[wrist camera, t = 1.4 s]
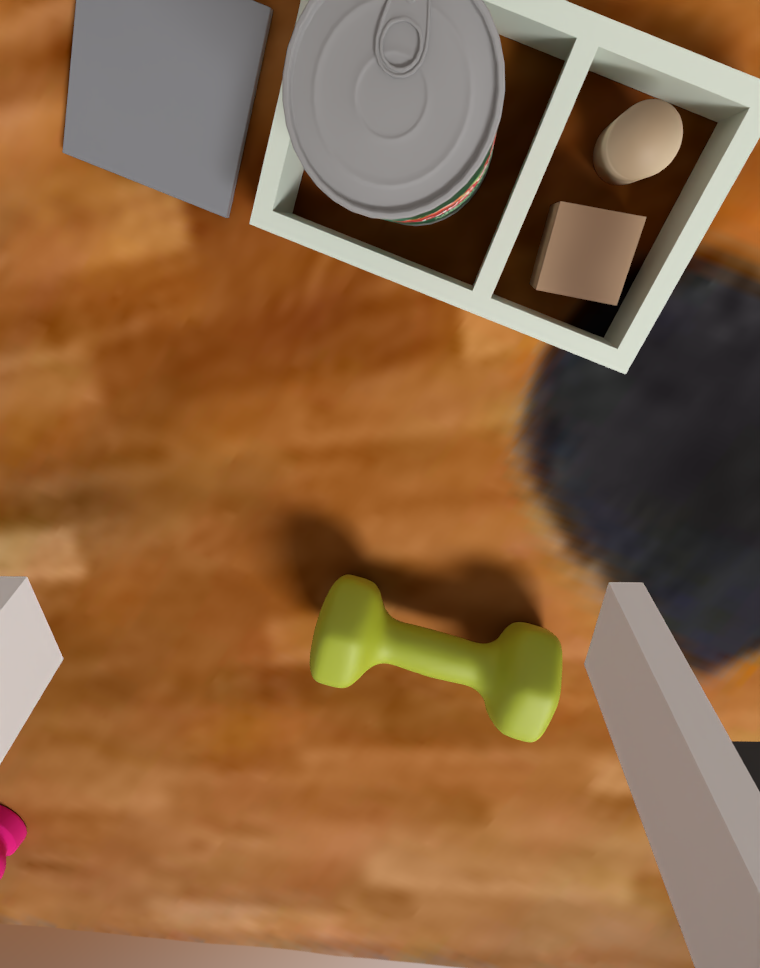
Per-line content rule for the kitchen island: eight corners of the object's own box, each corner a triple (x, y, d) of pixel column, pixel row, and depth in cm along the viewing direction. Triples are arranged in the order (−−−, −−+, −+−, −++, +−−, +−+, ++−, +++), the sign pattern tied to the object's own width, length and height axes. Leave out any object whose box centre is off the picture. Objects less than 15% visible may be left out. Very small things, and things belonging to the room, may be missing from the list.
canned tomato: (468, 241, 31) (465, 244, 21) (332, 206, 32) (266, 192, 22) (516, 71, 28) (539, -21, 18) (362, 33, 28) (301, -78, 18)
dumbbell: (321, 631, 44) (294, 700, 37) (340, 546, 40) (315, 605, 34) (527, 691, 43) (536, 772, 37) (565, 609, 40) (582, 682, 33)
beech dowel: (581, 172, 29) (597, 163, 25) (611, 107, 28) (632, 88, 24) (635, 194, 29) (659, 188, 25) (668, 130, 28) (697, 113, 24)
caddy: (271, 225, 32) (249, 223, 29) (341, -58, 27) (323, -97, 24) (610, 361, 32) (625, 374, 29) (749, 107, 27) (786, 89, 24)
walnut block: (529, 283, 32) (536, 289, 28) (550, 205, 30) (560, 201, 26) (600, 297, 31) (616, 305, 28) (625, 219, 30) (646, 217, 26)
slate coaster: (67, 153, 32) (62, 152, 32) (87, -65, 28) (82, -69, 28) (228, 218, 33) (226, 217, 32) (273, 10, 28) (270, 7, 28)
